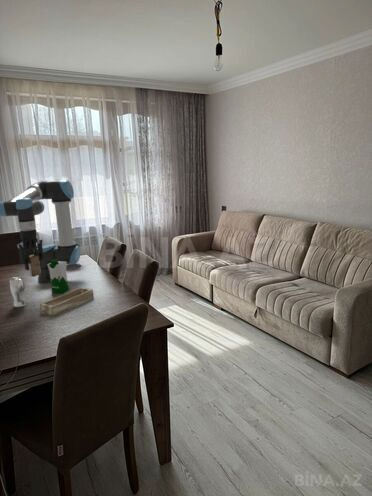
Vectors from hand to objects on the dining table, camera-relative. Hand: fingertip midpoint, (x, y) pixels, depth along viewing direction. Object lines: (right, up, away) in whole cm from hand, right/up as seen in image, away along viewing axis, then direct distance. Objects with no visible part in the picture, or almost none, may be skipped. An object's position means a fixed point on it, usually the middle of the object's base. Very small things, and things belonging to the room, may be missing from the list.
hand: (34, 274), depth 177 cm
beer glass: (-12, -18, +10) cm, 23 cm away
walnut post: (0, 0, 0) cm, 0 cm away
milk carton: (+4, -13, +28) cm, 31 cm away
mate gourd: (-8, 0, +85) cm, 85 cm away
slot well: (+15, -17, +7) cm, 24 cm away
